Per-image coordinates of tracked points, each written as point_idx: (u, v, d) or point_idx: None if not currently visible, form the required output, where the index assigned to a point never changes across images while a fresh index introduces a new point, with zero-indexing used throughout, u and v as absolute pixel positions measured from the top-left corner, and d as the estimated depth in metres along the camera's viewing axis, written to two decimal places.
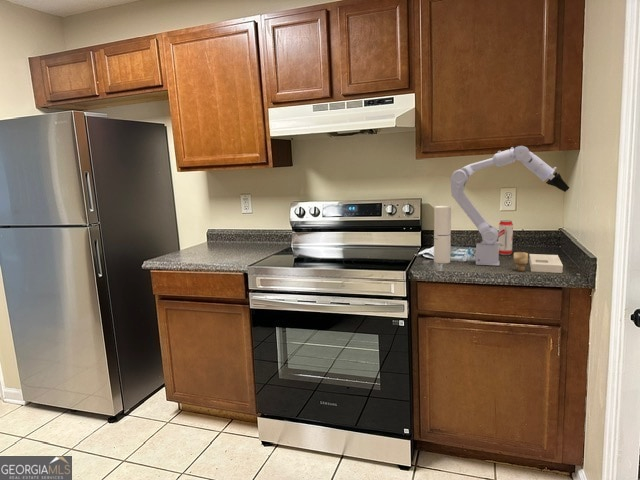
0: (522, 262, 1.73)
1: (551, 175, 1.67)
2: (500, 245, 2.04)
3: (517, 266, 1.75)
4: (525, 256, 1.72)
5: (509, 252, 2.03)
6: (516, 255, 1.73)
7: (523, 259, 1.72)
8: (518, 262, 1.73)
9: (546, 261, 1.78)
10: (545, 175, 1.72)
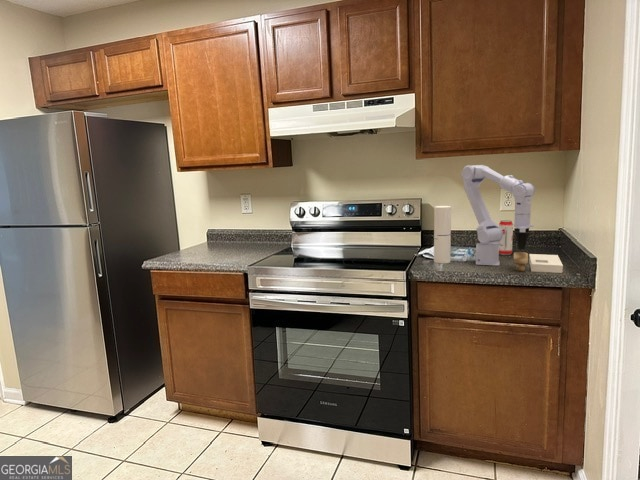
0: (522, 262, 1.73)
1: (523, 229, 1.66)
2: (500, 245, 2.04)
3: (517, 266, 1.75)
4: (525, 256, 1.72)
5: (509, 252, 2.03)
6: (516, 255, 1.73)
7: (523, 259, 1.72)
8: (518, 262, 1.73)
9: (546, 261, 1.78)
10: (520, 224, 1.70)
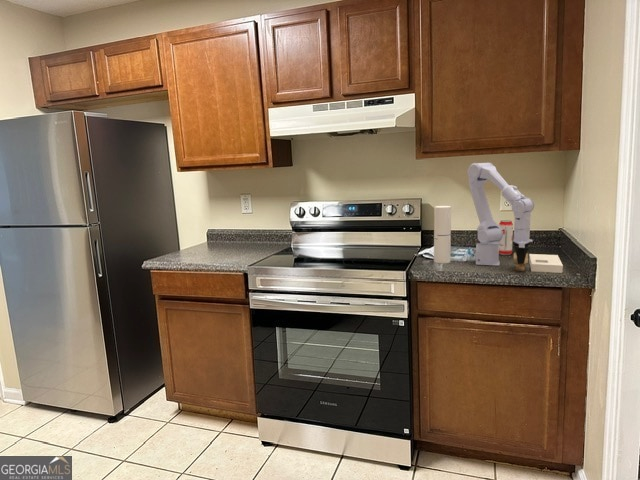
0: None
1: (523, 244, 1.67)
2: (500, 245, 2.04)
3: (517, 266, 1.75)
4: None
5: (509, 252, 2.03)
6: (516, 255, 1.73)
7: None
8: None
9: (546, 261, 1.78)
10: (519, 239, 1.71)
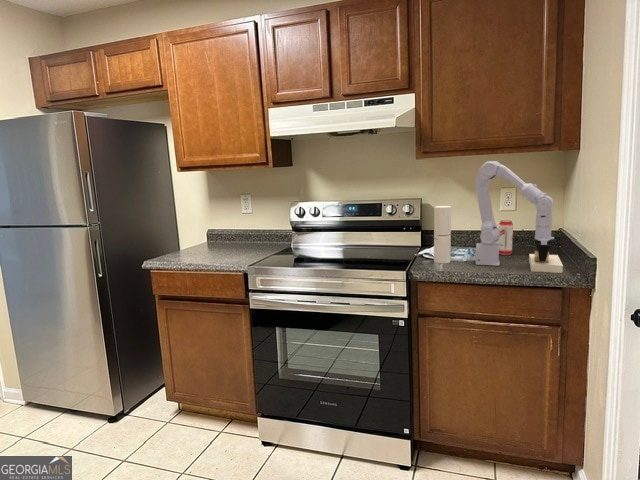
0: None
1: (545, 242, 1.68)
2: (500, 245, 2.04)
3: None
4: (547, 254, 1.74)
5: (509, 252, 2.03)
6: (537, 253, 1.75)
7: None
8: None
9: None
10: (541, 236, 1.73)
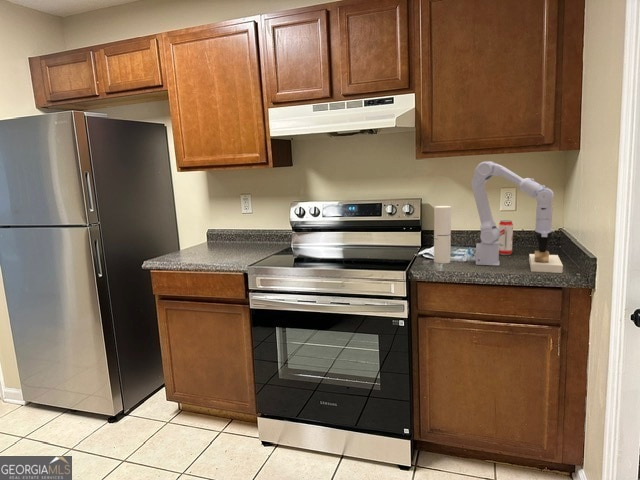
0: (544, 260, 1.74)
1: (545, 234, 1.68)
2: (500, 245, 2.04)
3: None
4: (547, 254, 1.74)
5: (509, 252, 2.03)
6: (537, 253, 1.75)
7: (545, 257, 1.74)
8: (540, 260, 1.75)
9: None
10: (541, 229, 1.72)
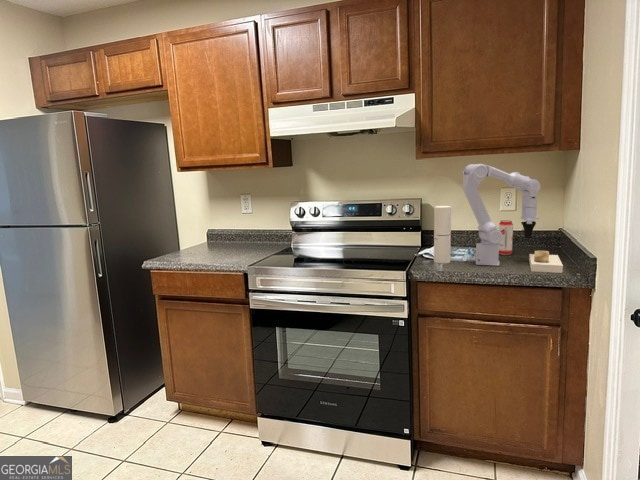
0: (544, 260, 1.74)
1: (530, 221, 1.80)
2: (500, 245, 2.04)
3: None
4: (547, 254, 1.74)
5: (509, 252, 2.03)
6: (537, 253, 1.75)
7: (545, 257, 1.74)
8: (540, 260, 1.75)
9: None
10: (526, 216, 1.84)
